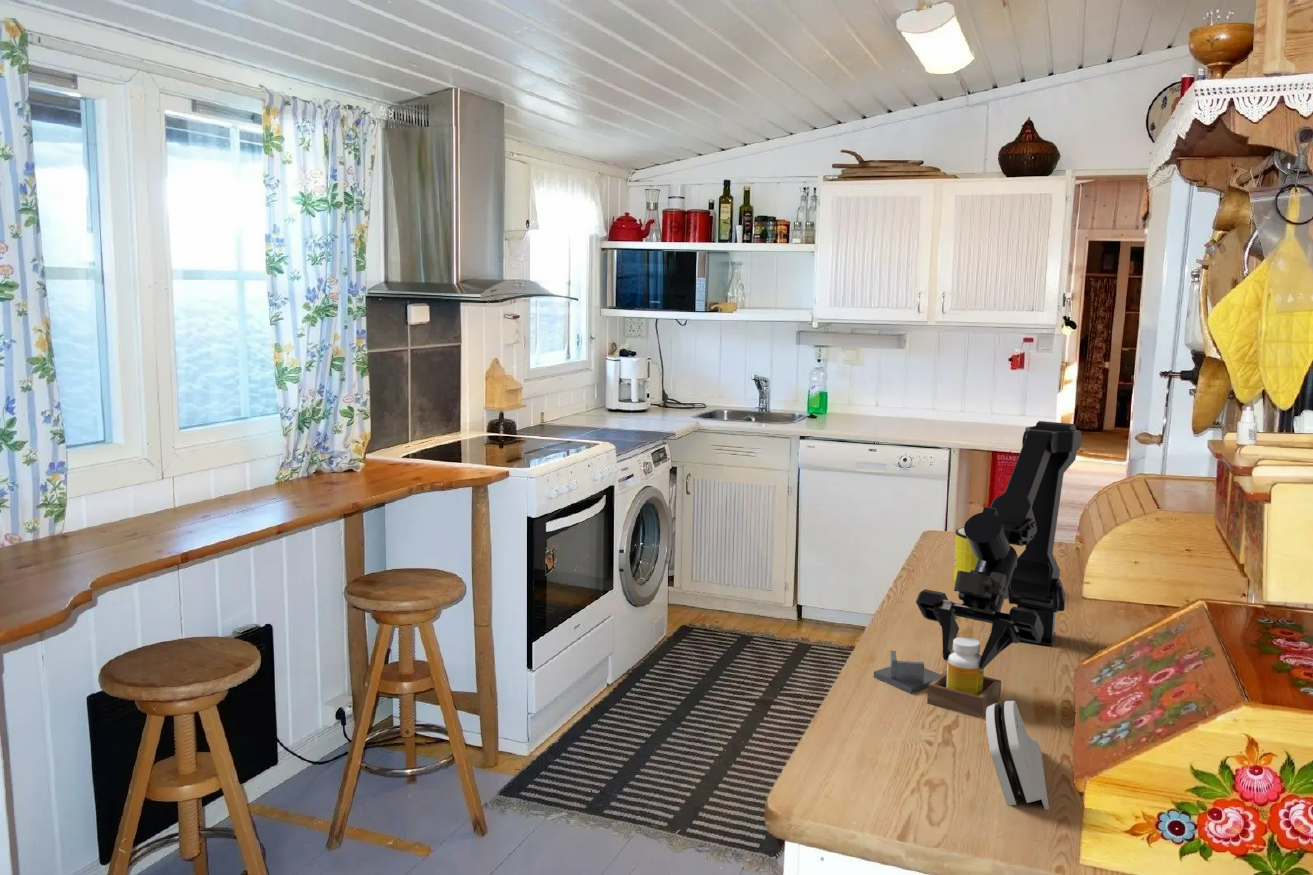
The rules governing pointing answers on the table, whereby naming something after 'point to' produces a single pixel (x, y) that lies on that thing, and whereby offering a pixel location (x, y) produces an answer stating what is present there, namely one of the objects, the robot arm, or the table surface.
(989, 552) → the robot arm
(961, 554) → the beverage can
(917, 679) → the v-block
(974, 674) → the supplement bottle
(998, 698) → the block
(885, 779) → the table surface
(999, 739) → the white black-striped casing block
